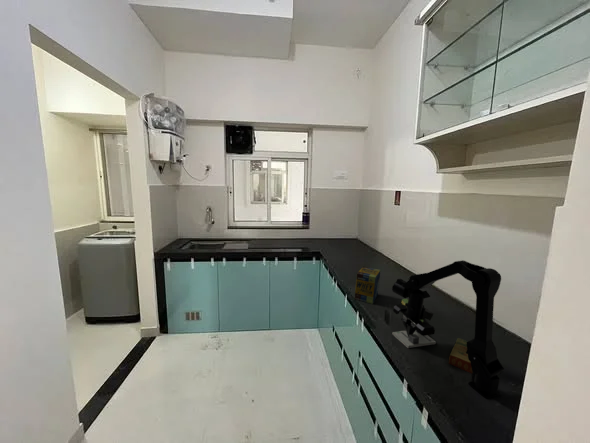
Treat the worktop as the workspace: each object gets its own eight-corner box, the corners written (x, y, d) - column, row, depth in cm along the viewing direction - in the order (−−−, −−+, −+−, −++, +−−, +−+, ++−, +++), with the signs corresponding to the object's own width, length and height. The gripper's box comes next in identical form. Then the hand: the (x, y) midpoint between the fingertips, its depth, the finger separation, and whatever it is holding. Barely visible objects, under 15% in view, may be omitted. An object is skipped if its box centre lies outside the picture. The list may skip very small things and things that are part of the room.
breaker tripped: (419, 343, 110) (419, 337, 110) (413, 344, 109) (414, 338, 109) (413, 338, 113) (414, 333, 113) (408, 339, 112) (408, 334, 112)
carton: (447, 364, 101) (449, 353, 100) (456, 346, 113) (457, 336, 112) (473, 375, 95) (475, 364, 95) (479, 354, 108) (481, 345, 107)
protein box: (354, 299, 152) (356, 273, 149) (360, 290, 165) (363, 266, 163) (372, 304, 147) (375, 277, 145) (378, 294, 160) (380, 269, 158)
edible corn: (409, 297, 148) (401, 295, 148) (426, 317, 128) (417, 314, 128) (405, 306, 149) (397, 303, 149) (422, 326, 129) (413, 323, 129)
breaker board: (435, 343, 113) (435, 341, 113) (407, 348, 109) (408, 345, 109) (418, 330, 122) (418, 328, 122) (392, 334, 118) (392, 332, 118)
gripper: (449, 313, 104) (442, 349, 107) (415, 291, 122) (410, 322, 125) (425, 316, 101) (419, 352, 104) (394, 293, 118) (389, 325, 121)
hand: (409, 337), depth 114 cm, fingers closed
